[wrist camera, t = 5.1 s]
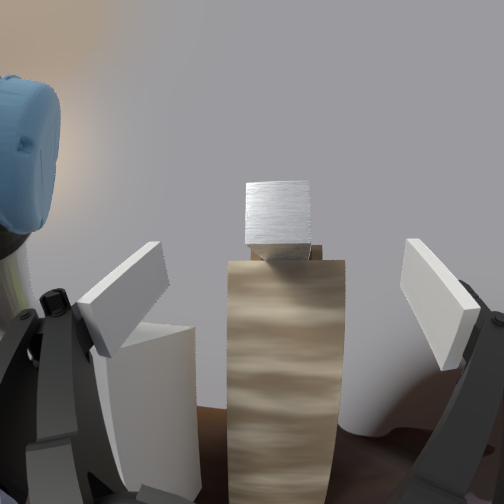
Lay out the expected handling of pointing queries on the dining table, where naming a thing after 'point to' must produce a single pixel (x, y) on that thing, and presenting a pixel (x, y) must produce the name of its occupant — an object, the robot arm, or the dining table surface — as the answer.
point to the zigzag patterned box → (283, 377)
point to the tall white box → (152, 408)
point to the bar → (278, 220)
